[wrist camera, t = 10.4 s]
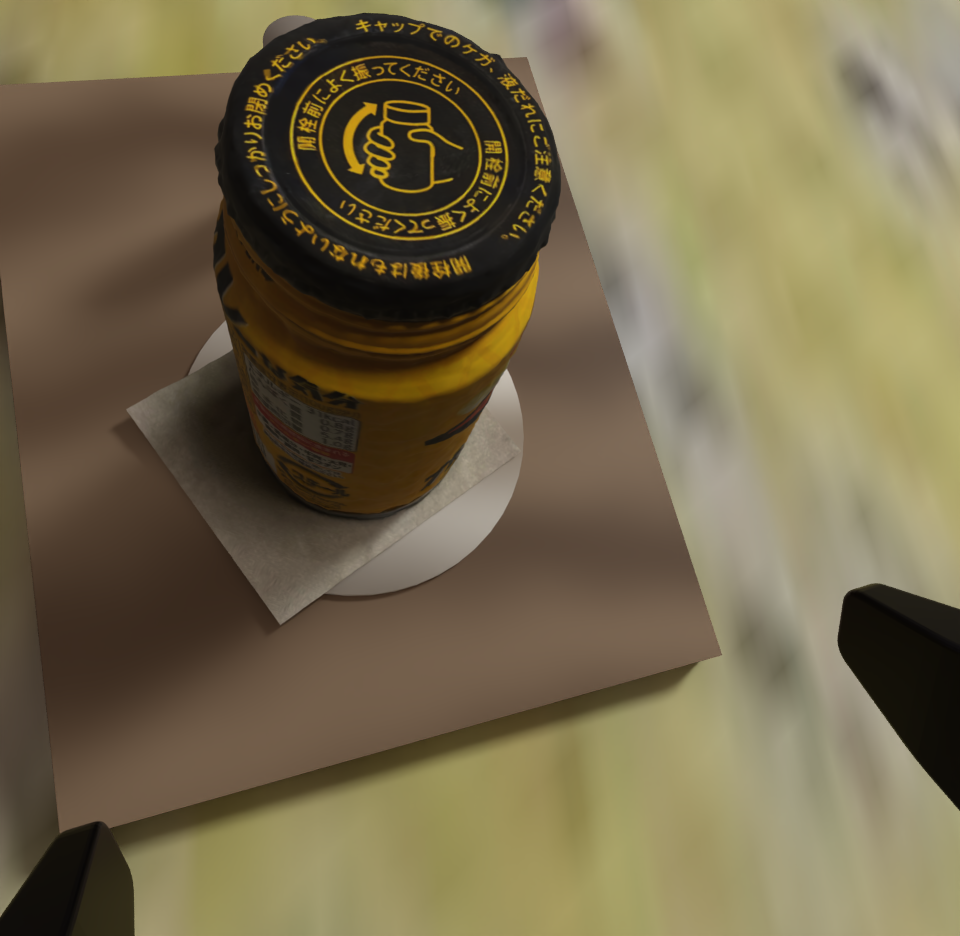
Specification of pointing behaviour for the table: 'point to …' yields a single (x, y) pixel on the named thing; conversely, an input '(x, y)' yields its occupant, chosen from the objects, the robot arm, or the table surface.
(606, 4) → the table surface
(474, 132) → the condiment
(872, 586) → the robot arm
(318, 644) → the locating plate
